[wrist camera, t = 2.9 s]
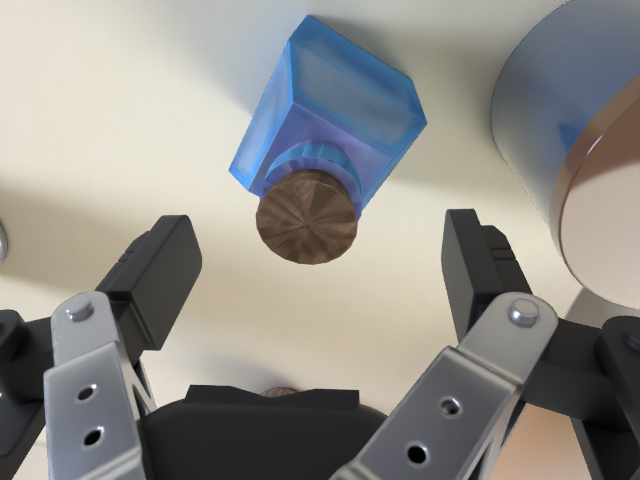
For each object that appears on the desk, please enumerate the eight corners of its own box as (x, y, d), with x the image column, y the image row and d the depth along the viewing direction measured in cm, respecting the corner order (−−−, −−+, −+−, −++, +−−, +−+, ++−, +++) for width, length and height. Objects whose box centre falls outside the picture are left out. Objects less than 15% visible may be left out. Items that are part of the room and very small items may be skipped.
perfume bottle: (350, 172, 25) (341, 321, 15) (257, 121, 23) (181, 249, 14) (412, 80, 21) (452, 197, 12) (308, 14, 20) (254, 82, 10)
